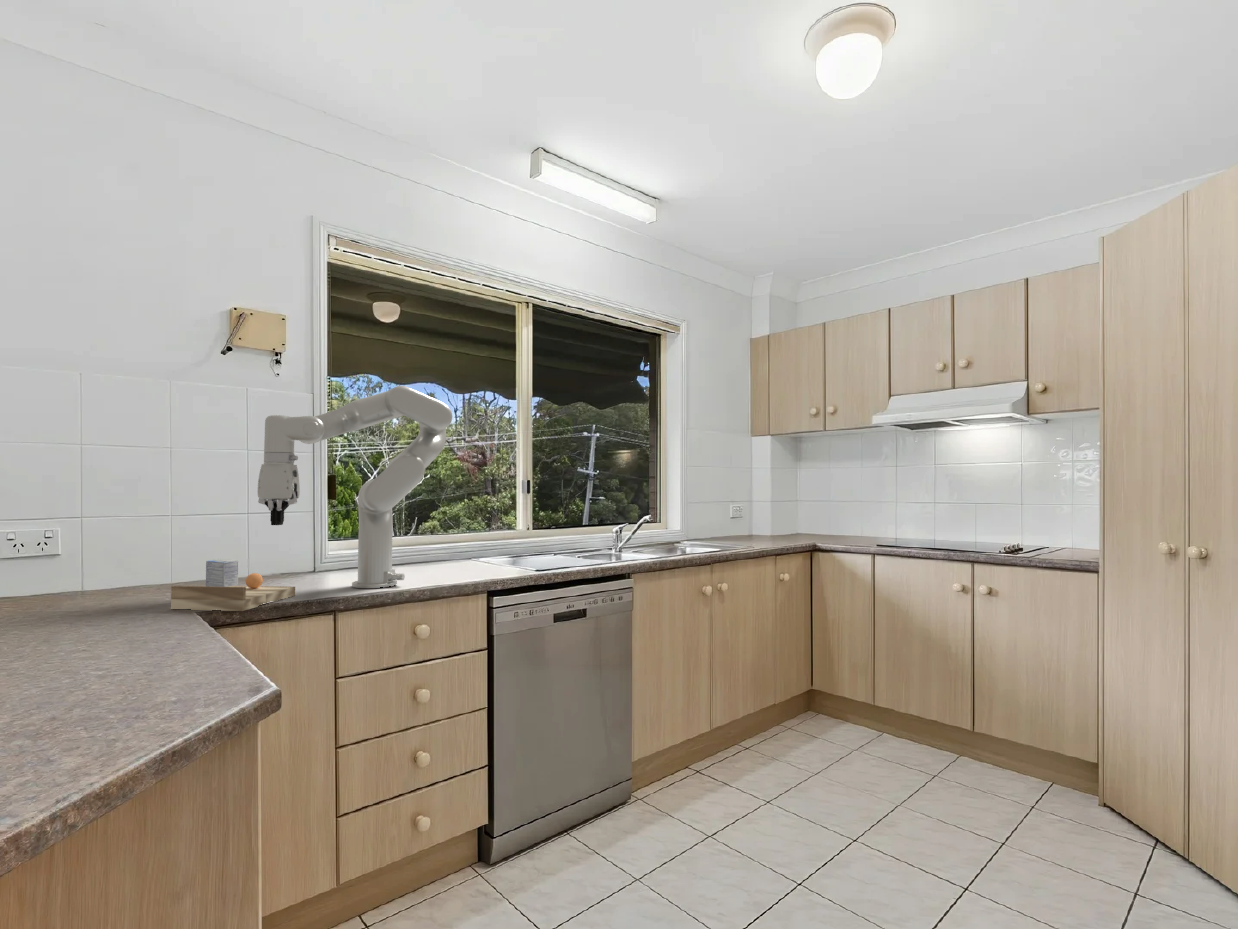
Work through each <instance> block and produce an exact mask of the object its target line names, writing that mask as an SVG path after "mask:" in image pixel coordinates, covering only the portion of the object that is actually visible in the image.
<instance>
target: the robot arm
mask: <svg viewBox="0 0 1238 929" xmlns="http://www.w3.org/2000/svg"><path fill="white" fill-rule="evenodd" d="M403 416H404V417H406V418H409V419H411V420H413V421H415V422H418V425H419V432H418V435H417V436H416V438H414V440H412V442H411V443H409V445H408V446H407V447H405V448H404V449H403V450H402V451H401V452H400V453H399V454H397V455H396V456H394V457H393V458H392V459H391V460H390V461H389V463H388V465H387V467H386V468H385V469H383V471H382V472H380V473H379V474H378V475H377V476H376V477H375V478H374V479H370V480H367V481H366V482H365V483H363V485H362V486H361V487H360V488H359V491H358V498H357V506H358V508H357V510H358V540H357V541H358V542H357V543H358V544H357V548H358V549H357V553H358V554H357V580H355V581H353V582H352V583H351V586H352V588H356V589H381V588H380V587H383V588H390V587H389V586H391V587H395V586H397V585H398V581H404V580H405V576H406V575H405V573H396V569H395V568H393V530H394V528H393V522H394V521H393V519H394V518H393V508H395V506H397V504H398V503H399V502H401V501H402V500H404V498H405V497H406V496H407V495H408V494H410V492H411V491H412V490H414V488H416V487H417V486H418V485H419V483H420V482H421V481H422V479H423V477H424V476H425V473H426V469H427V467H428V466H430V465H431V463H432V462H433V461H434V460H435V459H436V458H437V457H438V456H439V455H440V454H441V453H442V451H443V449H444V447H445V445H446V441H447V428H448V427H449V426H450V425H451V423H452V422H453V421H452V420H453V412H452V410H451V408H450V407H449V406H448V405H447V404H446V403H444V402H443V401H441V400H438V399H437V398H434V397H432V396H429V395H427V394H424V393H423V392H420V391H418V390H416V389H413V388H411V387H409V386H405V385H397V386H395V387H393V388H391V389H390V390H386V391H383V392H380V393H376V394H373V395H370V396H367V397H363V398H359V399H355V400H353V401H351V402H348V403H346V404H345V405H343V406H341V407H338V408H336V409H334V410H331V411H328V412H325V413H322V414H319V415H316V416H312V415H303V416H301V415H300V416H289V415H282V414H281V415H280V414H279V415H277V414H273V415H268V416H267V417H266V418H265V421H264V444H263V446H264V448H263V451H264V452H263V464H261V466H260V470H259V475H258V481H257V497H258V501H257V502H258V504H260V505H261V504H262V505H264V506H266V507H267V508H268V511H270V525H271V526H282V525H284V521H285V511H286V510H287V508H288V507H289V506H292V505H296V504H297V503H298V499H299V497H300V495H301V494H300V492H301V490H300V476H299V474H300V473H299V470H298V466H297V464H295V462H296V461H298V459H299V457H298V455H295V441H299V442H301V443H303V444H306V445H307V444H308V445H311V444H315V443H319V442H321V441H325V440H328V439H332V438H334V437H338V436H340V435H343V434H347V433H348V434H349V433H351V432H356V431H357V432H358V431H360V430H363V429H366V428H369V427H371V426H375V425H378V424H379V425H380V424H381V423H385V422H387V421H392V420H394V419H397V418H401V417H403ZM396 584H397V585H396ZM394 585H395V586H394Z"/></svg>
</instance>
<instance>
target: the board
mask: <svg viewBox="0 0 1238 929" xmlns="http://www.w3.org/2000/svg"><path fill="white" fill-rule="evenodd" d="M291 596H293V597H295V596H296V586H278V585H276V586H274V585H272V586H271V585H268V586H267V585H261V586H259V587H258V588H249V587H248V586H247V585H238V586H228V587H211V586H206V585H205V586H204V585H202V586H199V585H197V586H196V585H171V587H170V610H171V609H191V610H190V611H212V610H216V609H217V610H221V612H244V611H248V610H251V609H254V608H259V607H260V606H259V605H261V604H263V603H267V602H270V601H276V602H278V601H277V600H279V601H281V600H280V599H283V600H285V599H284V598H286V599H289V598H288V597H290V598H292V597H291ZM258 606H259V607H258Z"/></svg>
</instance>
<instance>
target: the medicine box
mask: <svg viewBox="0 0 1238 929" xmlns="http://www.w3.org/2000/svg"><path fill="white" fill-rule="evenodd" d="M205 586H211V587H228V586H239V560H238V559H223V558H222V559H221V558H220V559H219V558H218V559H212V560H211V559H210V560H206V563H205Z"/></svg>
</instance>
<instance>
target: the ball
mask: <svg viewBox="0 0 1238 929" xmlns="http://www.w3.org/2000/svg"><path fill="white" fill-rule="evenodd" d="M263 582H264V579H263V576H262V575H261V574H260V573H256V572H252V573H250V574H249V575H247V576H246V579H245V586H248V587H249V588H258V587H259V586H262V584H263Z"/></svg>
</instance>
